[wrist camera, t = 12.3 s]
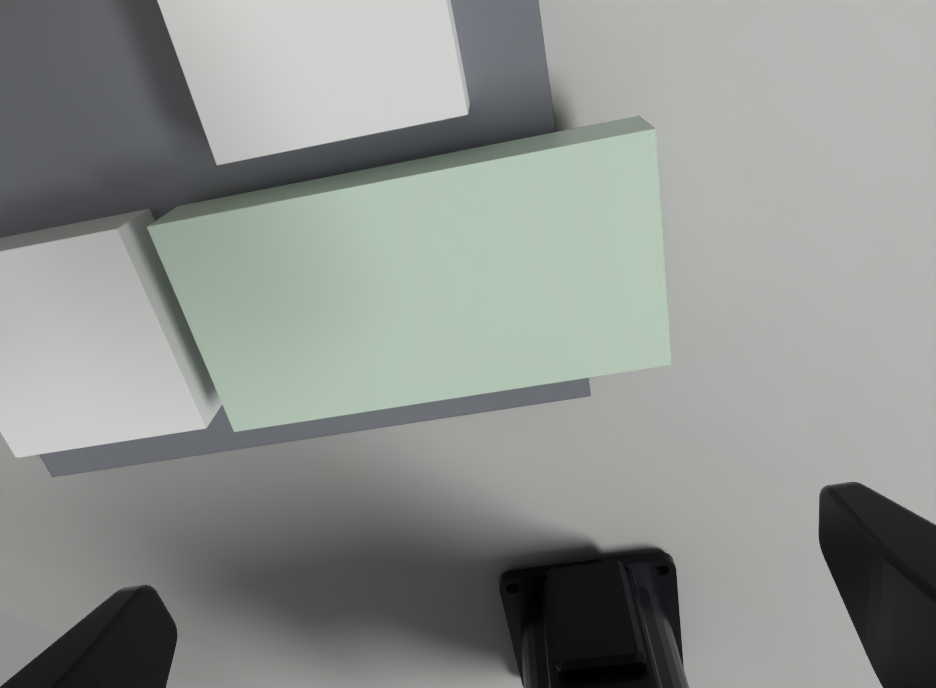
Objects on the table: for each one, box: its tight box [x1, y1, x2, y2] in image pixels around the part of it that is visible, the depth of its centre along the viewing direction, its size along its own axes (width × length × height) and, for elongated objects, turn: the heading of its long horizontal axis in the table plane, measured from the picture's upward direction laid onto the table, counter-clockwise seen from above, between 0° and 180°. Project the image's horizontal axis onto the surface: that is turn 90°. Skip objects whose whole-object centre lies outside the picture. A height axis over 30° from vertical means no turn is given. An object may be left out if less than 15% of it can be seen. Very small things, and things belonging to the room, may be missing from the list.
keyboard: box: [0, 0, 591, 477], centre depth 17 cm, size 21×18×3 cm
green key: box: [147, 116, 671, 432], centre depth 18 cm, size 6×12×3 cm, turn 101°
